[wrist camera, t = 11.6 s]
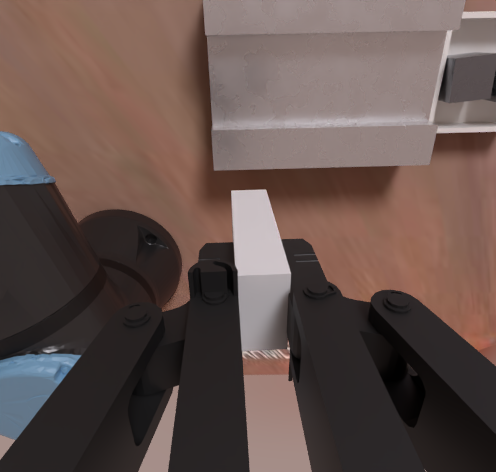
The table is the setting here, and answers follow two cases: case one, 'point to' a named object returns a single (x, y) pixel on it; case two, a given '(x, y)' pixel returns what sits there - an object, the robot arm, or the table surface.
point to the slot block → (324, 81)
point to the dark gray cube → (468, 77)
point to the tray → (457, 42)
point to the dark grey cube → (493, 91)
